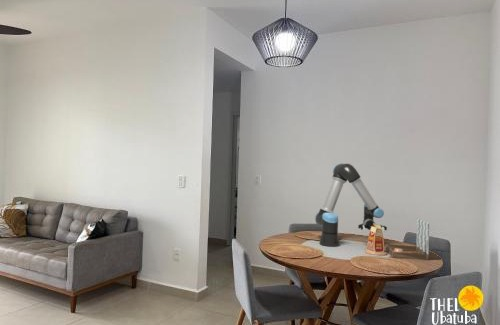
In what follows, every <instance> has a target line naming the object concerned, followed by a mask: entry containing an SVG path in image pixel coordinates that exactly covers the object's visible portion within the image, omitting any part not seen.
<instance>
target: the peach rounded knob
mask: <svg viewBox="0 0 500 325" xmlns="http://www.w3.org/2000/svg"><path fill="white" fill-rule="evenodd" d="M393 251H394V252H402V253H403V250H402V249H400V248H394V250H393Z"/></svg>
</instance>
